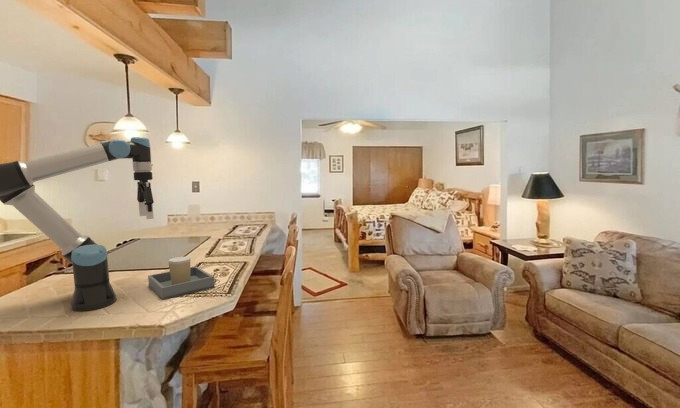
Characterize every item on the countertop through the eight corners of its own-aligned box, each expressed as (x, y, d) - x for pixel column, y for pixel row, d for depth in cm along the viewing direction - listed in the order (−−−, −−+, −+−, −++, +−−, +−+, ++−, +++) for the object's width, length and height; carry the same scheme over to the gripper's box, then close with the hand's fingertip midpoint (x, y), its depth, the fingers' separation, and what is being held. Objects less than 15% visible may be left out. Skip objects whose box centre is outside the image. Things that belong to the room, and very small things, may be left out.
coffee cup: (195, 281, 170) (194, 256, 168) (185, 288, 161) (183, 261, 159) (177, 281, 171) (175, 256, 169) (165, 287, 162) (163, 261, 160)
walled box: (162, 299, 150) (161, 288, 149) (148, 286, 167) (147, 275, 167) (214, 287, 164) (213, 276, 163) (196, 275, 182) (196, 266, 181)
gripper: (158, 171, 158) (162, 219, 161) (145, 171, 177) (148, 213, 179) (139, 171, 153) (143, 221, 156) (127, 171, 172) (131, 215, 175)
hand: (146, 217), depth 168 cm, fingers open, 13 cm apart
